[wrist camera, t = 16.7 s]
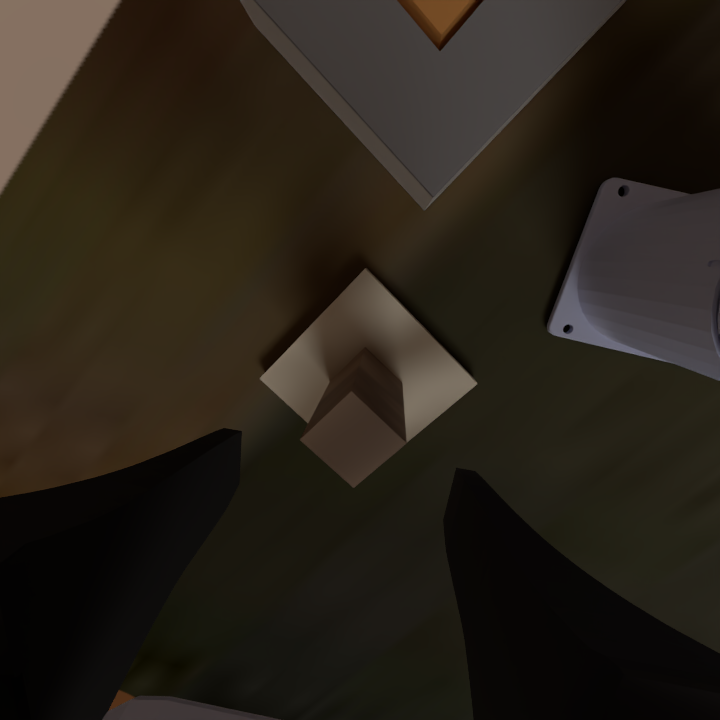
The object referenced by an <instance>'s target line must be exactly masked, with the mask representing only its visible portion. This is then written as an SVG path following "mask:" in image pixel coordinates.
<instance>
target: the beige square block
mask: <svg viewBox="0 0 720 720" xmlns="http://www.w3.org/2000/svg"><path fill="white" fill-rule="evenodd" d="M365 347H366V348H367V349H368V350H369V351H370V352H371V353H372V354H373V355H374V356H375V357H376V358H377V359H378V360H379V361H380V362H382V363H383V364H384V365H385V366H386V367H387V368H388V369H389V370H390V371H391V372H392V373H393V374H394V375H395V376H396V377H397V378H398V379H399V380H400V381H401V382H402V384H403V398H404V413H405V427H406V441H407V442H408V441H409V440H410V439H412V438H413V437H414V436H415V435H416V434H418V433H419V432H420V431H421V430H422V429H424V428H425V427H426V426H427V425H428V424H430V423H431V422H432V421H433V420H434V419H436V418H437V417H438V416H439V415H441V414H442V413H443V412H444V411H445V410H447V409H448V408H449V407H450V406H451V405H453V404H454V403H455V402H456V401H457V400H459V399H460V398H461V397H462V396H463V395H465V394H466V393H467V392H468V391H469V390H471V389H472V388H473V387H474V386H476V385H477V382H476V381H475V379H474V378H473V377H472V376H471V375H470V374H469V373H468V372H467V371H466V369H465V368H464V367H463V366H462V365H461V364H460V363H459V362H458V361H457V360H456V359H455V358H454V357H453V356H452V355H451V354H450V353H449V352H448V351H447V350H446V349H445V348H444V347H443V346H442V345H441V344H440V343H439V342H438V341H437V340H436V339H435V338H434V337H433V336H432V335H431V333H430V332H429V331H428V330H427V329H426V328H425V327H424V326H423V325H422V324H421V323H420V322H419V321H418V320H417V319H416V318H415V317H414V316H413V315H412V314H411V313H410V312H409V311H408V310H407V309H406V308H405V307H404V306H403V305H402V304H401V303H400V302H399V301H398V300H397V299H396V298H395V296H394V295H393V294H392V293H391V292H390V291H389V290H388V289H387V288H386V287H385V286H384V285H383V284H382V283H381V282H380V281H379V280H378V279H377V278H376V277H375V276H374V275H373V274H372V273H371V272H370V271H369V270H368V269H367V268H365V269H364V270H363V271H362V272H361V273H360V274H359V275H358V276H357V277H356V279H355V280H354V281H353V282H352V283H351V284H350V285H349V286H348V287H347V288H346V289H345V290H344V291H343V292H342V293H341V294H340V295H339V296H338V297H337V298H336V299H335V300H334V301H333V303H332V304H331V305H330V306H329V307H328V308H327V309H326V310H325V311H324V312H323V313H322V314H321V315H320V316H319V317H318V318H317V319H316V320H315V321H314V322H313V323H312V324H311V325H310V327H309V328H308V329H307V330H306V331H305V332H304V333H303V334H302V335H301V336H300V337H299V338H298V339H297V340H296V341H295V342H294V343H293V344H292V345H291V346H290V347H289V348H288V349H287V351H286V352H285V353H284V354H283V355H282V356H281V357H280V358H279V359H278V360H277V361H276V362H275V363H274V364H273V365H272V366H271V367H270V368H269V369H268V370H267V371H266V372H265V373H264V375H263V376H262V377H261V378H260V380H262V381H263V382H264V383H265V384H266V385H267V386H268V387H269V388H270V389H271V390H272V391H274V392H275V393H276V394H277V395H278V396H279V397H280V398H281V399H282V400H283V401H284V402H285V403H287V404H288V405H289V406H290V407H291V408H292V409H293V410H294V411H295V412H296V413H297V414H299V415H300V416H301V417H302V418H303V419H304V420H305V421H306V422H307V423H309V421H310V419H311V417H312V415H313V413H314V411H315V409H316V407H317V405H318V404H319V402H320V400H321V398H322V396H323V394H324V392H325V390H326V388H327V386H328V384H329V382H330V381H331V380H332V379H333V378H334V377H335V376H336V375H337V374H338V373H339V372H340V371H341V370H342V369H343V368H344V367H345V366H346V365H347V364H348V363H349V362H350V361H351V360H352V359H353V358H354V357H355V356H356V355H358V354H359V353H360V352H361V351H362V350H363V349H364V348H365Z"/></svg>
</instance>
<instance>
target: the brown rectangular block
mask: <svg viewBox="0 0 720 720" xmlns="http://www.w3.org/2000/svg"><path fill="white" fill-rule="evenodd" d="M300 440H301V441H302V442H303V443H304V444H305V445H306V446H307V447H308V448H310V449H311V450H312V451H313V452H314V453H315V454H316V455H317V456H318V457H320V458H321V459H322V460H323V461H324V462H325V463H326V464H327V465H329V466H330V467H331V468H332V469H333V470H334V471H335V472H336V473H338V474H339V475H340V476H341V477H342V478H343V479H344V480H345V481H346V482H348V483H349V484H350V485H351V486H352V487H353V488H354V487H355V486H356V485H358V484H359V483H360V482H361V481H362V480H363V479H365V478H366V477H367V476H368V475H369V474H371V473H372V472H373V471H374V470H375V469H377V468H378V467H379V466H380V465H381V464H382V463H384V462H385V461H386V460H387V459H388V458H390V457H391V456H392V455H393V454H394V453H396V452H397V451H398V450H399V449H400V448H402V447H403V446H404V445H405V444H406V443H407V441H406V427H405V413H404V398H403V384H402V382H401V381H400V380H399V379H398V378H397V377H396V376H395V375H394V374H393V373H392V372H391V371H390V370H389V369H388V368H387V367H386V366H385V365H384V364H383V363H382V362H380V361H379V360H378V359H377V358H376V357H375V356H374V355H373V354H372V353H371V352H370V351H369V350H368V349H367V348H366V347H365V348H364V349H363V350H362V351H361V352H360V353H359V354H358V355H356V356H355V357H354V358H353V359H352V360H351V361H350V362H349V363H348V364H347V365H346V366H345V367H344V368H343V369H342V370H341V371H340V372H339V373H338V374H337V375H336V376H335V377H334V378H333V379H332V380H331V381H330V382H329V384H328V386H327V388H326V390H325V392H324V394H323V396H322V398H321V400H320V402H319V404H318V405H317V407H316V409H315V411H314V413H313V415H312V417H311V419H310V421H309V423H308V425H307V427H306V429H305V431H304V433H303V435H302V437H301V438H300Z"/></svg>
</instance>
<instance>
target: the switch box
mask: <svg viewBox="0 0 720 720" xmlns="http://www.w3.org/2000/svg"><path fill="white" fill-rule="evenodd" d="M626 1H627V0H484V1H483V2H482V3H481V4H480V5H479V6H478V8H477V9H476V10H475V11H474V12H473V14H472V15H471V16H470V17H469V18H468V19H467V21H466V22H465V23H464V24H463V25H462V26H461V28H460V29H459V30H458V31H457V32H456V34H455V35H454V36H453V37H452V38H451V39H450V41H449V42H448V43H447V44H446V45H445V46H444V48H443V49H442V50H441V51H439V50H438V49H437V47H436V46H435V45H434V44H433V43H432V41H431V40H430V39H429V38H428V37H427V35H426V34H425V33H424V32H423V31H422V30H421V28H420V27H419V26H418V25H417V24H416V22H415V21H414V20H413V19H412V18H411V16H410V15H409V14H408V13H407V12H406V11H405V9H404V8H403V7H402V6H401V5H400V3H399V2H398V1H397V0H240V2H241V3H242V5H243V7H244V8H245V10H246V12H247V13H248V15H249V17H250V18H251V20H252V22H253V24H254V25H255V27H256V28H257V29H258V30H259V31H260V32H261V33H262V34H263V35H264V36H265V37H266V39H267V40H268V41H269V42H270V43H271V44H272V45H273V46H274V47H275V48H276V49H277V51H278V52H279V53H280V54H281V55H282V56H283V57H284V58H285V59H286V60H287V61H288V63H289V64H290V65H291V66H292V67H293V68H294V69H295V70H296V71H297V72H298V73H299V75H300V76H301V77H302V78H303V79H304V80H305V81H306V82H307V83H308V84H309V85H310V87H311V88H312V89H313V90H314V91H315V92H316V93H317V94H318V95H319V96H320V97H321V99H322V100H323V101H324V102H325V103H326V104H327V105H328V106H329V107H330V108H331V109H332V111H333V112H334V113H335V114H336V115H337V116H338V117H339V118H340V119H341V120H342V121H343V123H344V124H345V125H346V126H347V127H348V128H349V129H350V130H351V131H352V132H353V133H354V135H355V136H356V137H357V138H358V139H359V140H360V141H361V142H362V143H363V144H364V145H365V147H366V148H367V149H368V150H369V151H370V152H371V153H372V154H373V155H374V156H375V157H376V159H377V160H378V161H379V162H380V163H381V164H382V165H383V166H384V167H385V168H386V169H387V171H388V172H389V173H390V174H391V175H392V176H393V177H394V178H395V179H396V180H397V181H398V183H399V184H400V185H401V186H402V187H403V188H404V189H405V190H406V191H407V192H408V193H409V195H410V196H411V197H412V198H413V199H414V200H415V201H416V202H417V203H418V204H419V205H420V207H421V208H422V209H423V210H424V211H425V210H426V209H427V208H428V206H429V205H430V204H431V203H432V202H433V201H434V200H435V199H436V198H437V197H438V196H439V195H440V194H441V193H442V192H443V191H444V190H445V189H446V188H447V187H448V186H449V185H450V184H451V183H452V182H453V180H454V179H455V178H456V177H457V176H458V175H459V174H460V173H461V172H462V171H463V170H464V169H465V168H466V167H467V166H468V165H469V164H470V163H471V162H472V161H473V160H474V159H475V158H476V157H477V156H478V155H479V153H480V152H481V151H482V150H483V149H484V148H485V147H486V146H487V145H488V144H489V143H490V142H491V141H492V140H493V139H494V138H495V137H496V136H497V135H498V134H499V133H500V132H501V131H502V130H503V129H504V127H505V126H506V125H507V124H508V123H509V122H510V121H511V120H512V119H513V118H514V117H515V116H516V115H517V114H518V113H519V112H520V111H521V110H522V109H523V108H524V107H525V106H526V105H527V104H528V103H529V101H530V100H531V99H532V98H533V97H534V96H535V95H536V94H537V93H538V92H539V91H540V90H541V89H542V88H543V87H544V86H545V85H546V84H547V83H548V82H549V81H550V80H551V79H552V78H553V77H554V76H555V74H556V73H557V72H558V71H559V70H560V69H561V68H562V67H563V66H564V65H565V64H566V63H567V62H568V61H569V60H570V59H571V58H572V57H573V56H574V55H575V54H576V53H577V52H578V51H579V50H580V48H581V47H582V46H583V45H584V44H585V43H586V42H587V41H588V40H589V39H590V38H591V37H592V36H593V35H594V34H595V33H596V32H597V31H598V30H599V29H600V28H601V27H602V26H603V25H604V24H605V23H606V21H607V20H608V19H609V18H610V17H611V16H612V15H613V14H614V13H615V12H616V11H617V10H618V9H619V8H620V7H621V6H622V5H623V4H624V3H625V2H626Z"/></svg>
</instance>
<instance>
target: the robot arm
mask: <svg viewBox="0 0 720 720" xmlns="http://www.w3.org/2000/svg"><path fill="white" fill-rule="evenodd" d="M620 187H623V188H624V190H625V191H624V195H623V196H622V197H621V196H619V194H618V189H619V188H620ZM567 324H569V326H570V329H569V330H568V331H567V332H563V328H564V326H565V325H567ZM547 330H548V332H549V333H551V334H553V335H555V336H559V337H563V338H568V339H572V340H576V341H580V342H585V343H589V344H593V345H597V346H602V347H606V348H610V349H614V350H618V351H623V352H627V353H631V354H635V355H640V356H644V357H648V358H652V359H657V360H661V361H665V362H669V363H674V364H676V365H679V366H682V367H684V368H687V369H690V370H692V371H695V372H698V373H700V374H703V375H706V376H708V377H711V378H714V379H716V380H719V381H720V189H715V190H710V191H705V192H701V193H696V194H688V193H683V192H679V191H674V190H670V189H665V188H661V187H656V186H652V185H647V184H643V183H639V182H634V181H630V180H625V179H621V178H611V179H608V180H606V181H604V182H603V183H602V184H601V186H600V188H599V190H598V193H597V195H596V198H595V200H594V203H593V206H592V208H591V211H590V214H589V216H588V219H587V221H586V224H585V227H584V229H583V232H582V234H581V237H580V240H579V242H578V245H577V247H576V250H575V253H574V255H573V258H572V261H571V263H570V266H569V268H568V271H567V274H566V276H565V279H564V281H563V284H562V287H561V289H560V292H559V294H558V297H557V300H556V302H555V305H554V308H553V310H552V313H551V315H550V318H549V321H548V323H547ZM241 436H242V431H238V430H232V429H226V428H223V429H220V430H218V431H215V432H213V433H210V434H208V435H206V436H203V437H201V438H199V439H197V440H194V441H192V442H190V443H188V444H185V445H183V446H181V447H178V448H176V449H174V450H172V451H169V452H167V453H164V454H162V455H159V456H156V457H154V458H151V459H149V460H146V461H144V462H141V463H139V464H136V465H133V466H130V467H127V468H124V469H121V470H118V471H115V472H112V473H108V474H105V475H102V476H98V477H95V478H91V479H87V480H83V481H79V482H75V483H71V484H67V485H63V486H59V487H55V488H50V489H45V490H40V491H35V492H30V493H25V494H19V495H13V496H8V497H2V498H0V720H280V719H275V718H270V717H265V716H261V715H256V714H251V713H246V712H242V711H237V710H232V709H227V708H223V707H218V706H213V705H208V704H204V703H199V702H194V701H189V700H185V699H180V698H175V697H169V696H138V697H136V698H134V699H131V700H129V701H127V702H125V703H123V704H121V705H119V706H117V707H116V708H114V709H112V710H110V711H108V710H109V708H110V706H111V704H112V702H113V700H114V698H115V696H116V694H117V692H118V690H119V688H120V686H121V684H122V682H123V680H124V678H125V676H126V674H127V673H128V671H129V669H130V667H131V665H132V663H133V661H134V659H135V657H136V655H137V653H138V651H139V649H140V647H141V646H142V644H143V642H144V640H145V638H146V636H147V634H148V633H149V631H150V629H151V627H152V625H153V623H154V621H155V619H156V618H157V616H158V614H159V612H160V611H161V609H162V607H163V605H164V603H165V602H166V600H167V598H168V596H169V595H170V593H171V591H172V589H173V587H174V586H175V584H176V582H177V581H178V579H179V578H180V576H181V575H182V573H183V571H184V570H185V568H186V567H187V566H188V564H189V563H190V561H191V560H192V558H193V557H194V555H195V554H196V553H197V551H198V550H199V548H200V547H201V545H202V544H203V542H204V541H205V540H206V538H207V537H208V535H209V534H210V532H211V531H212V529H213V528H214V527H215V525H216V524H217V522H218V521H219V519H220V518H221V516H222V515H223V513H224V512H225V510H226V508H227V507H228V505H229V503H230V501H231V499H232V497H233V495H234V493H235V491H236V489H237V487H238V485H239V479H240V457H241ZM443 521H444V534H445V545H446V553H447V558H448V562H449V567H450V572H451V577H452V581H453V586H454V590H455V595H456V599H457V604H458V609H459V613H460V618H461V622H462V628H463V634H464V639H465V646H466V655H467V663H468V671H469V679H470V688H471V698H472V707H473V716H474V720H720V654H719V653H717V652H716V651H714V650H712V649H710V648H708V647H706V646H705V645H703V644H701V643H699V642H697V641H695V640H693V639H692V638H690V637H688V636H686V635H684V634H682V633H681V632H679V631H677V630H675V629H673V628H671V627H670V626H668V625H666V624H664V623H663V622H661V621H659V620H658V619H656V618H655V617H653V616H651V615H650V614H648V613H646V612H645V611H643V610H641V609H640V608H638V607H636V606H635V605H633V604H632V603H630V602H628V601H627V600H625V599H624V598H622V597H621V596H619V595H618V594H616V593H615V592H613V591H612V590H610V589H609V588H607V587H606V586H604V585H603V584H602V583H600V582H599V581H597V580H596V579H594V578H593V577H591V576H590V575H589V574H587V573H586V572H585V571H583V570H582V569H580V568H579V567H578V566H576V565H575V564H574V563H573V562H571V561H570V560H569V559H568V558H566V557H565V556H564V555H563V554H561V553H560V552H559V551H558V550H556V549H555V548H554V547H553V546H551V545H550V544H549V543H548V542H547V541H546V540H544V539H543V538H542V537H541V536H540V535H539V534H538V533H537V532H536V531H534V530H533V529H532V528H531V527H530V526H529V525H528V524H527V523H526V522H525V521H524V520H523V519H522V518H521V517H520V516H519V515H517V514H516V513H515V512H514V511H513V510H512V509H511V508H510V506H509V505H508V504H507V503H506V502H505V501H504V500H503V499H502V498H501V497H500V496H499V495H498V494H497V493H496V492H495V491H494V490H493V489H492V488H491V487H490V486H489V485H488V484H487V482H486V481H485V480H484V479H483V478H482V477H481V476H480V475H479V474H478V473H477V472H475V471H471V470H465V469H459V468H456V471H455V475H454V479H453V483H452V487H451V491H450V495H449V499H448V503H447V507H446V511H445V515H444V519H443Z"/></svg>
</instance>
